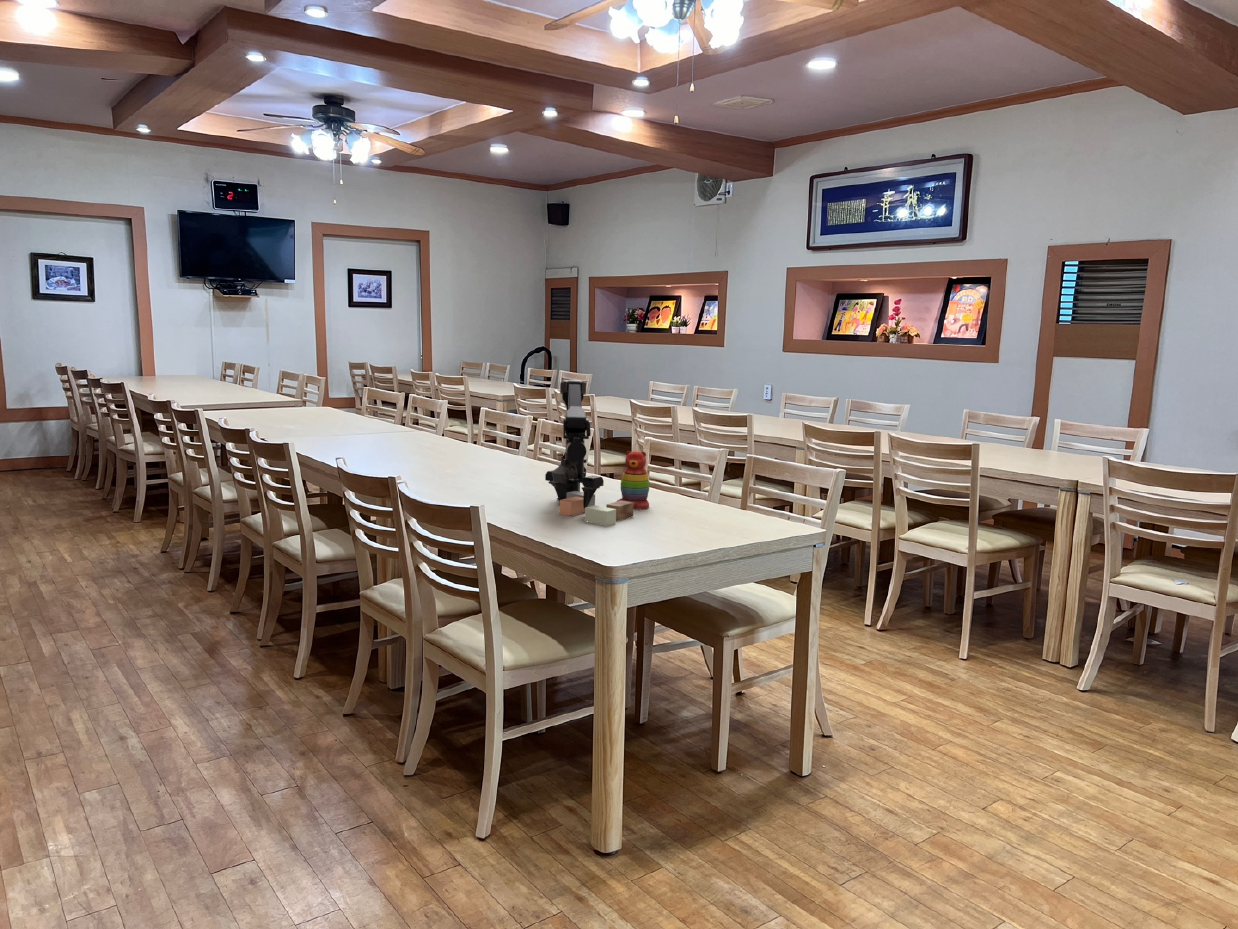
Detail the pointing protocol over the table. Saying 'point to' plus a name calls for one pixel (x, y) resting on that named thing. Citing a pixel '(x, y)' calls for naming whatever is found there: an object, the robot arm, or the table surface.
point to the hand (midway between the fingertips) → (573, 506)
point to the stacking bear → (635, 480)
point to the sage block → (600, 515)
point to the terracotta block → (571, 506)
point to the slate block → (581, 494)
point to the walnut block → (622, 509)
